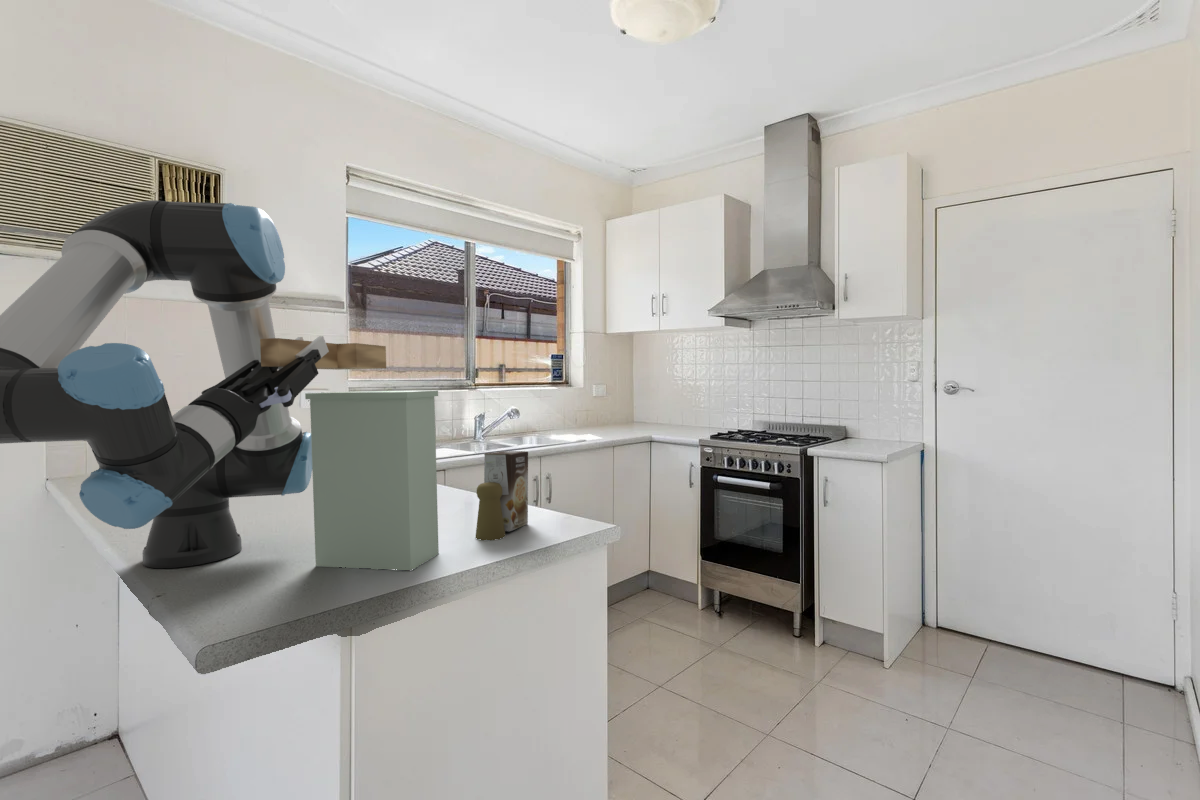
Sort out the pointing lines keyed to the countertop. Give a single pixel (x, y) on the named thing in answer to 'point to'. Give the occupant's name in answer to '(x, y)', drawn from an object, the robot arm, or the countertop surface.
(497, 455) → the coffee box
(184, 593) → the countertop surface
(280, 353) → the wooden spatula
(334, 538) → the sage green shelf box
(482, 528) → the cork
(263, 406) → the robot arm
